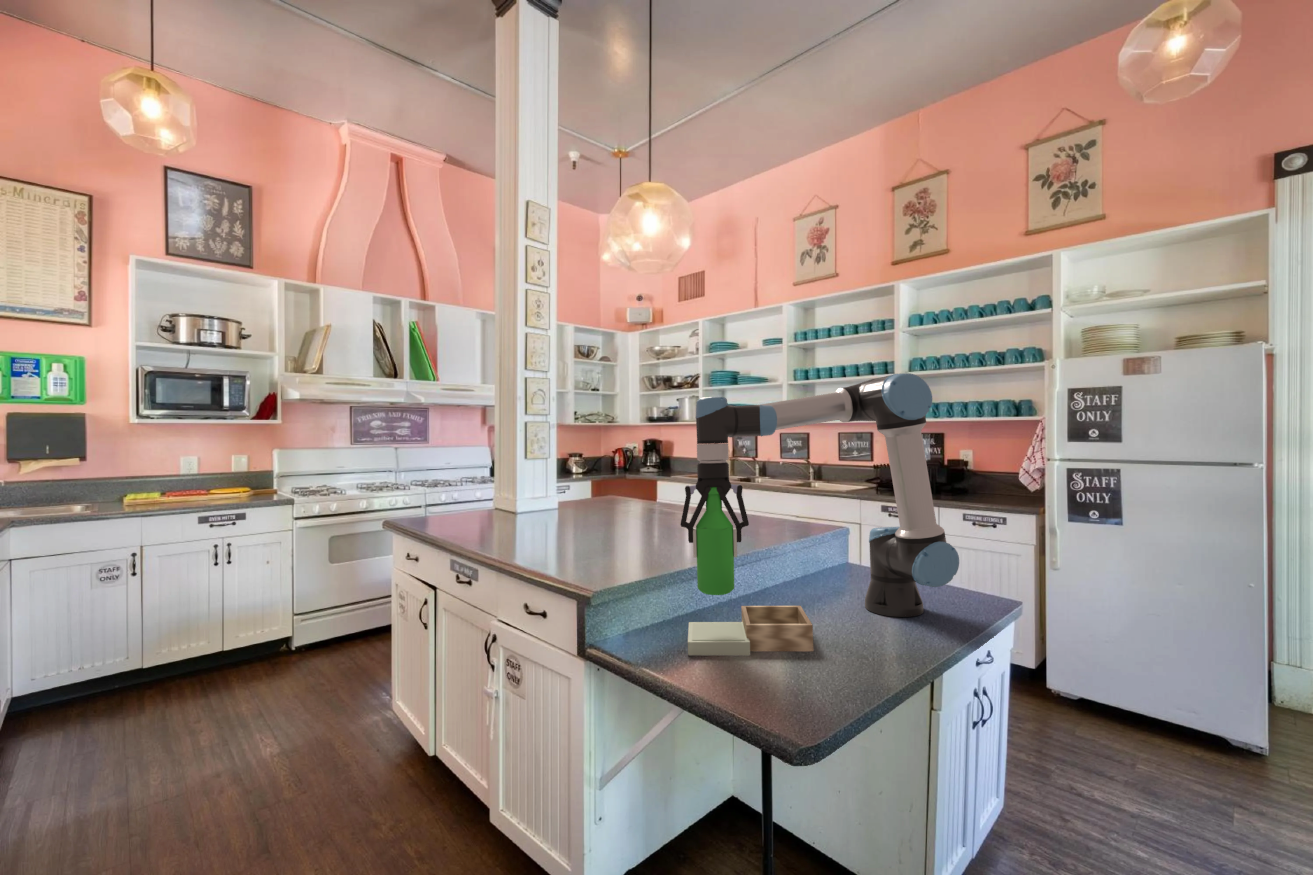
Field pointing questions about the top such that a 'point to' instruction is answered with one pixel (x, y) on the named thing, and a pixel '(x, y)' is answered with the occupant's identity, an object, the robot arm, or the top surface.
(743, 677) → the top surface
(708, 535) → the bottle
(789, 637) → the open square wooden frame
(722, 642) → the stand block
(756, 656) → the top surface
